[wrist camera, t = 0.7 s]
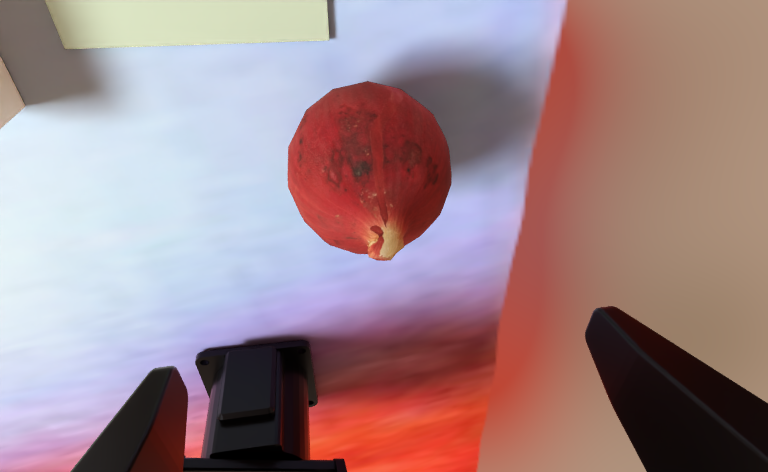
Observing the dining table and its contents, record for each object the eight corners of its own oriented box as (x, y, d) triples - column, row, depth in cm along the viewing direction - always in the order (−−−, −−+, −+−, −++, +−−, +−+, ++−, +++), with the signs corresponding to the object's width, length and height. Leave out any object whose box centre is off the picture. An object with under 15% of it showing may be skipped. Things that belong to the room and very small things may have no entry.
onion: (267, 74, 17) (253, 188, 11) (414, 37, 17) (480, 130, 11) (311, 197, 21) (319, 332, 15) (433, 166, 21) (490, 289, 15)
